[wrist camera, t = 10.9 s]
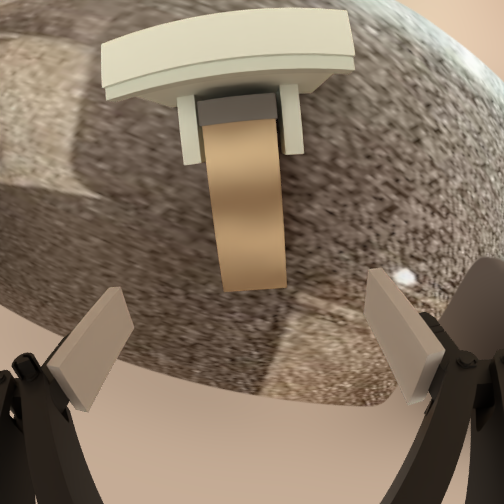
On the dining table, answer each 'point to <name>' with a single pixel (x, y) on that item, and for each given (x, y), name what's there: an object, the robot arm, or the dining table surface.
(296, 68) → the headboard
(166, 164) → the dining table surface
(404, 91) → the dining table surface
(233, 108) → the tan and grey block
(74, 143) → the dining table surface
